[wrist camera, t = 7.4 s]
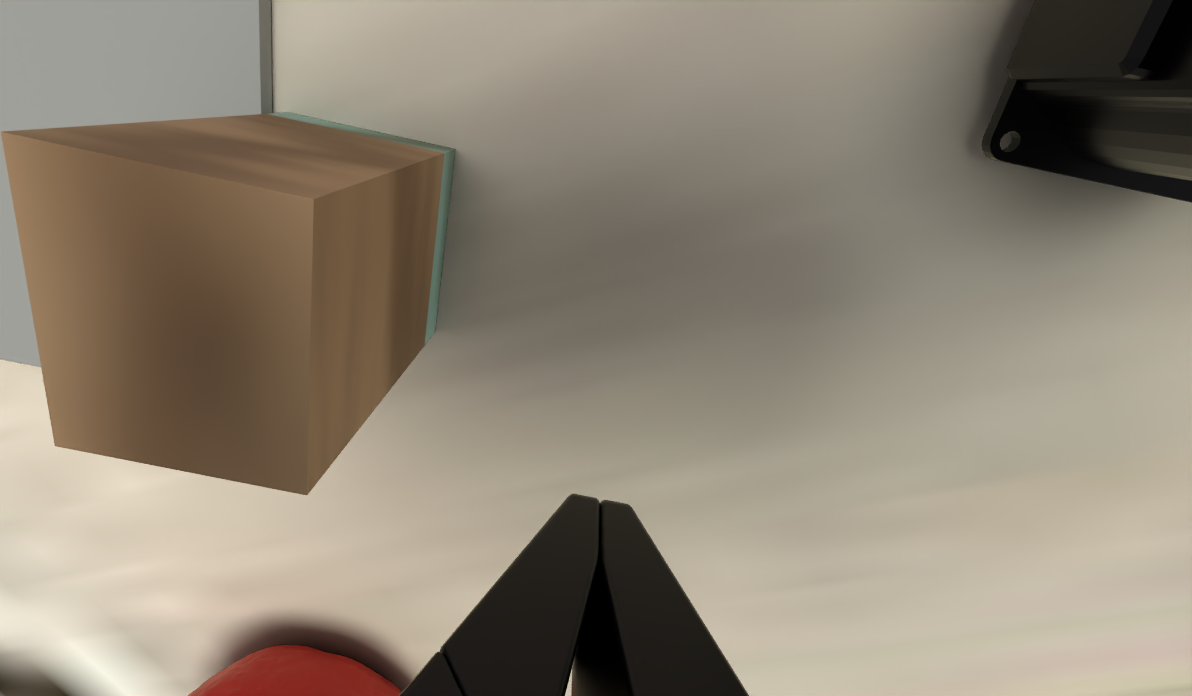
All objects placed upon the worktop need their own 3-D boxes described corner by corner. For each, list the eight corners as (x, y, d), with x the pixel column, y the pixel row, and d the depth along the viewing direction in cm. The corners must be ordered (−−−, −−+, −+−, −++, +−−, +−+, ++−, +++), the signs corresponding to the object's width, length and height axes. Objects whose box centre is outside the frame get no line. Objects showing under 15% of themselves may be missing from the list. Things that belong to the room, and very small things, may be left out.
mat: (269, -48, 16) (257, -53, 16) (276, 402, 22) (267, 410, 21) (-110, -132, 16) (-137, -139, 15) (-7, 348, 21) (-23, 354, 21)
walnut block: (455, 149, 18) (313, 198, 10) (435, 331, 20) (307, 495, 12) (288, 112, 18) (0, 131, 10) (287, 300, 20) (55, 446, 12)
